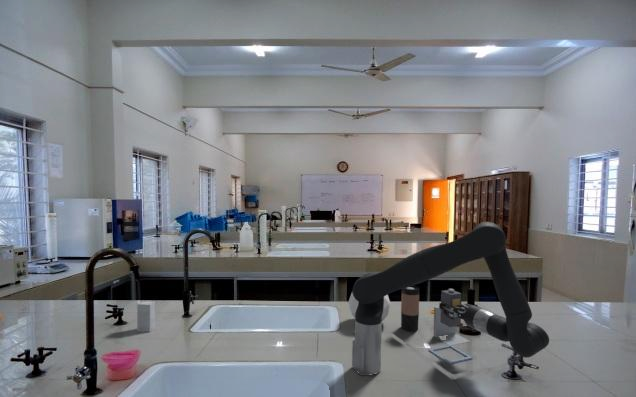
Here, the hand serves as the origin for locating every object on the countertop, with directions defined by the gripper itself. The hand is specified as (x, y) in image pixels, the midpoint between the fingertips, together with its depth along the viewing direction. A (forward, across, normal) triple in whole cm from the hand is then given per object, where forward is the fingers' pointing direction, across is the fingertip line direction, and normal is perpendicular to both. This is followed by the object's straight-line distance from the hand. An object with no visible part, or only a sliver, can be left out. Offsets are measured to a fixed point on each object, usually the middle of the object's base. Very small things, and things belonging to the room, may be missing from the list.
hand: (445, 304), depth 130 cm
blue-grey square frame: (-3, 0, +20) cm, 20 cm away
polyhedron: (+38, +11, +20) cm, 44 cm away
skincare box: (+65, +108, +20) cm, 128 cm away
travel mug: (+23, -1, +20) cm, 30 cm away
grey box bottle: (-3, 0, +6) cm, 7 cm away
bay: (+7, -11, +20) cm, 24 cm away
